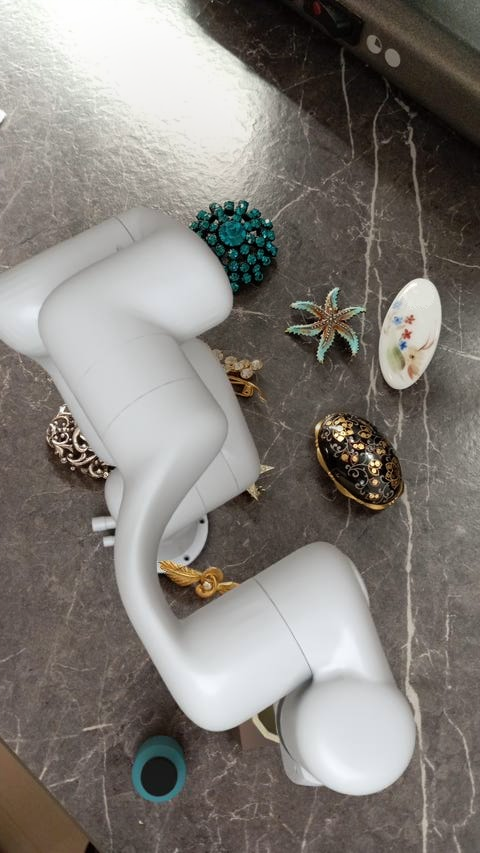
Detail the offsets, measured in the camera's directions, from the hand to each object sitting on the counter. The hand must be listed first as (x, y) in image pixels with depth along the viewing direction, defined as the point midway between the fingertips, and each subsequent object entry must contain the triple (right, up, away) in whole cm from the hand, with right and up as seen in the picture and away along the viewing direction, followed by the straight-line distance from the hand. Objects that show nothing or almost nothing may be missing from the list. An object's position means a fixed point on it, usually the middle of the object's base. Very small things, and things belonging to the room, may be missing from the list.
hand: (297, 708), depth 83 cm
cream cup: (-1, -4, +16) cm, 17 cm away
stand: (-3, -10, +37) cm, 38 cm away
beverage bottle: (-16, -17, +34) cm, 41 cm away
